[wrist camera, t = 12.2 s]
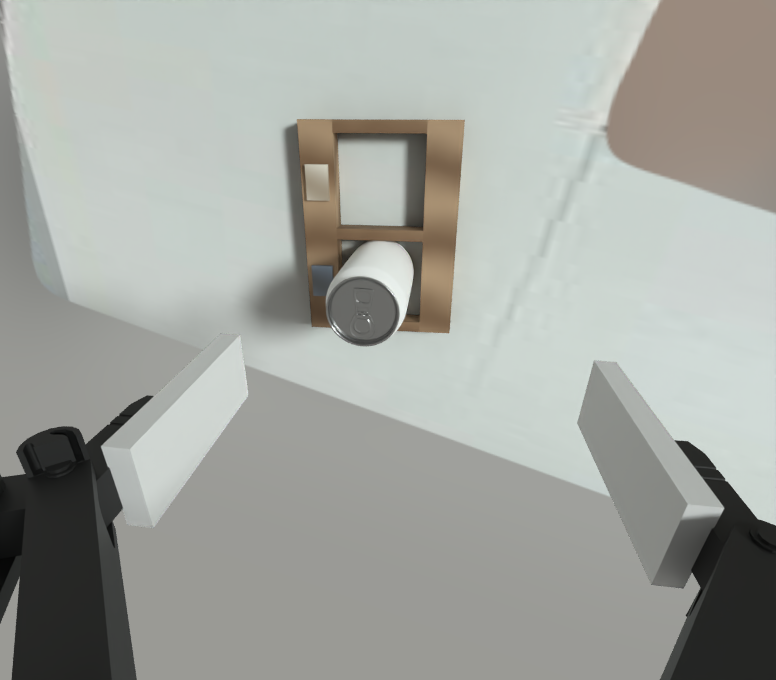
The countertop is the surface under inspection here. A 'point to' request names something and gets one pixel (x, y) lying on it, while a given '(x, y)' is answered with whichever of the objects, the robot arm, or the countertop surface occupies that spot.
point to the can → (370, 293)
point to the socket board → (435, 234)
